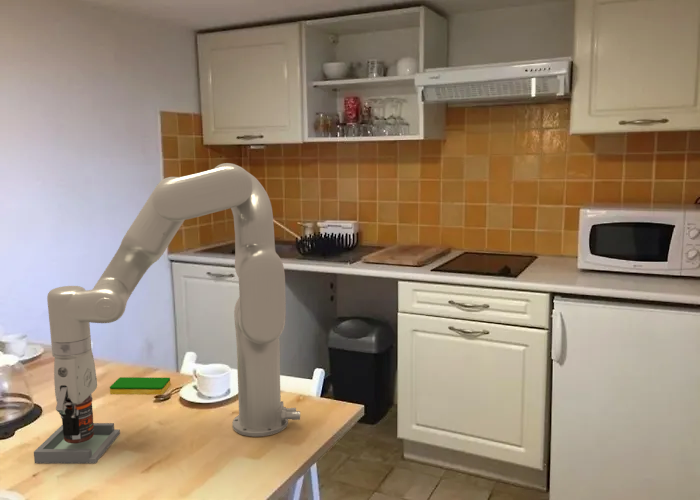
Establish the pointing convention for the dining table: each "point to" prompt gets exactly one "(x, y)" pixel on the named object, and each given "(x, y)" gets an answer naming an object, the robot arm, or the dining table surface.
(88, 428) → the supplement bottle
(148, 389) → the dish sponge
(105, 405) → the dining table surface
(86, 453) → the dock bay
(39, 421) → the dining table surface
